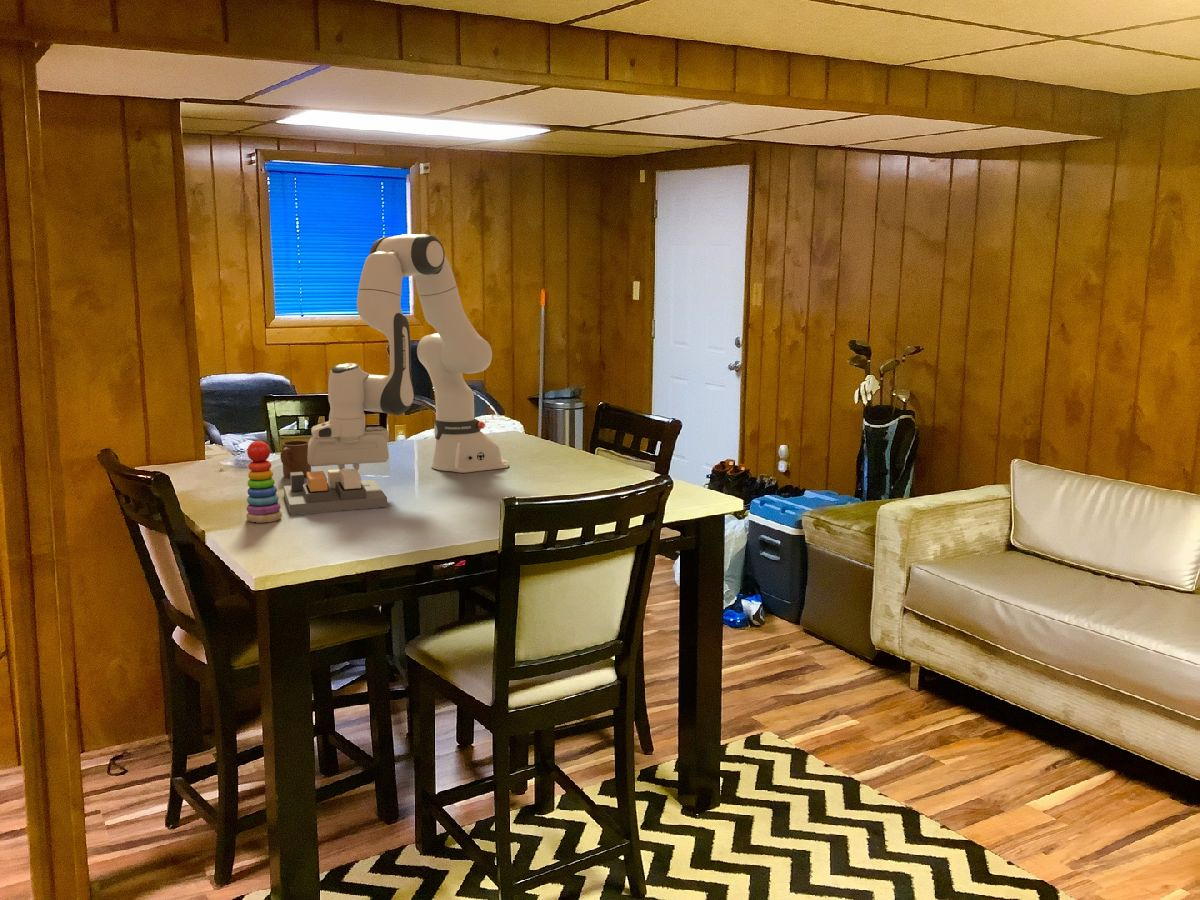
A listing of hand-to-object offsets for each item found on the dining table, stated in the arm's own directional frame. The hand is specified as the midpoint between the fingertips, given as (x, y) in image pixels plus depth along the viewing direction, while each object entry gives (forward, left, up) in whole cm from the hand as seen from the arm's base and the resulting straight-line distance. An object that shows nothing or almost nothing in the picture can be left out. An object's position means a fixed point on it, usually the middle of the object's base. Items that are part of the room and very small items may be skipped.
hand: (349, 481), depth 260 cm
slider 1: (+13, 0, -1) cm, 13 cm away
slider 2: (+4, 0, -1) cm, 4 cm away
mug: (+12, -28, -4) cm, 30 cm away
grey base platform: (+4, +4, -4) cm, 7 cm away
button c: (+9, +9, +1) cm, 12 cm away
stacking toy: (+22, +17, -4) cm, 28 cm away
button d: (+1, +9, +1) cm, 9 cm away
